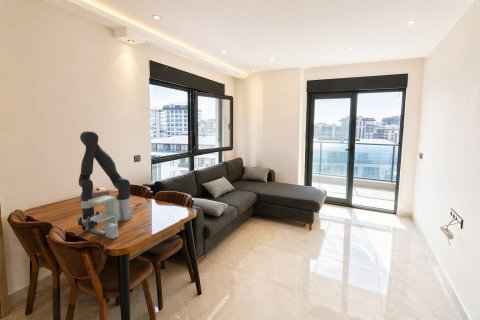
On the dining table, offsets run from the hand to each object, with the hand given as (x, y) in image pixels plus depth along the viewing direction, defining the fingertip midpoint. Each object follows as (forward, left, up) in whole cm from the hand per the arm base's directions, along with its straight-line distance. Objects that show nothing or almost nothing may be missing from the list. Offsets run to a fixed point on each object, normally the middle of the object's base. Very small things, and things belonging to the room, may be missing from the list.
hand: (89, 228), depth 178 cm
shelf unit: (-1, +14, -2) cm, 14 cm away
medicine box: (0, +23, -2) cm, 23 cm away
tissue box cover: (-51, -64, -2) cm, 82 cm away
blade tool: (0, +7, -2) cm, 7 cm away
